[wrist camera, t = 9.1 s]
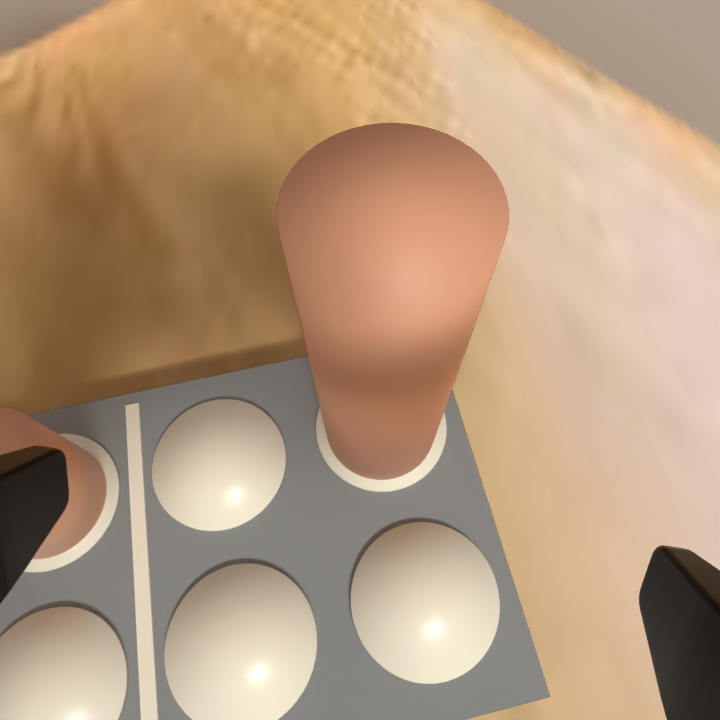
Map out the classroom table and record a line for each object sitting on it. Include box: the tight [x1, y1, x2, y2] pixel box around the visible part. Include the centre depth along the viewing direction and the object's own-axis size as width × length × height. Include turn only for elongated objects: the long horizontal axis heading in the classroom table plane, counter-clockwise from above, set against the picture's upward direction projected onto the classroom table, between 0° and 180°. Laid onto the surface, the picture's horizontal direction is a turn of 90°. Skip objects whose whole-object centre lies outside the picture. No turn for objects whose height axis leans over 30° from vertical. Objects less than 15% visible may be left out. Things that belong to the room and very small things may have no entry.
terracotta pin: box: [277, 123, 509, 480], centre depth 15 cm, size 4×4×12 cm
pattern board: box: [0, 356, 550, 720], centre depth 18 cm, size 13×24×6 cm, turn 103°
